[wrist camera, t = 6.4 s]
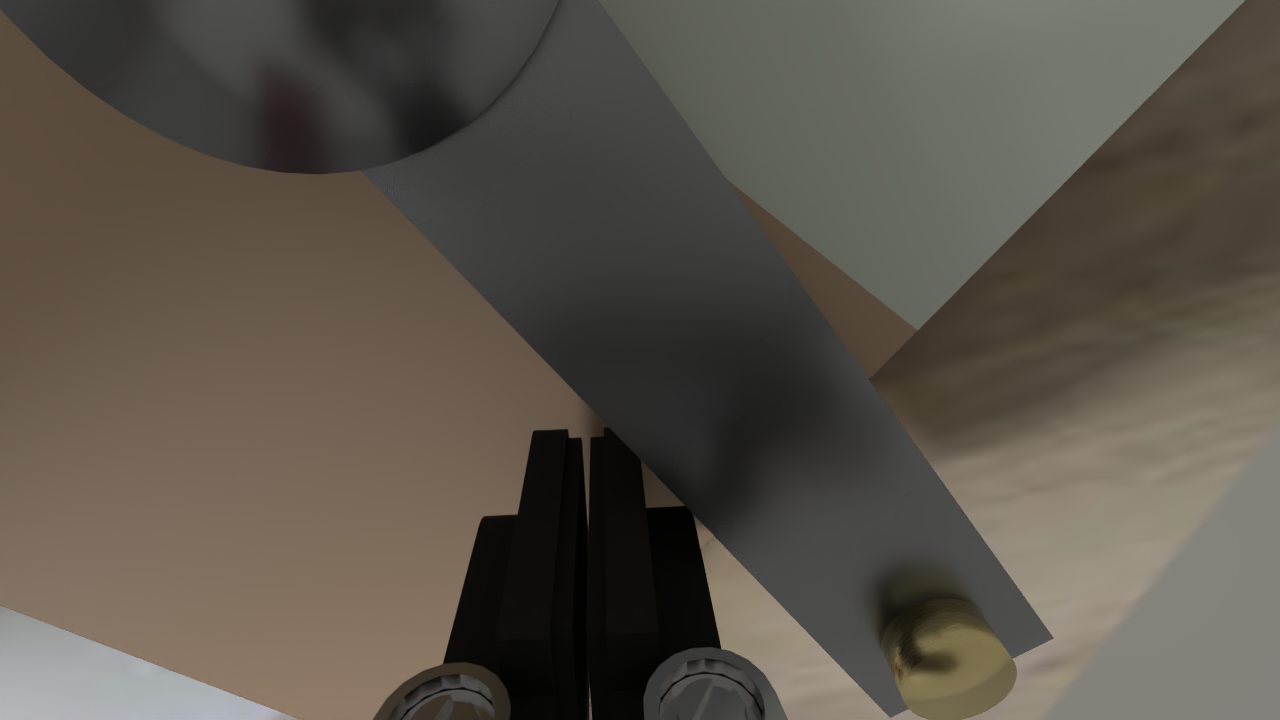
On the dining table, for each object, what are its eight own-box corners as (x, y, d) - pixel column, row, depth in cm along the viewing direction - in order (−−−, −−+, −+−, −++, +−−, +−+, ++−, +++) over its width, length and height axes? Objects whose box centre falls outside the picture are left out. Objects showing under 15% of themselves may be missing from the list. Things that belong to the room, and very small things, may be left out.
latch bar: (1014, 470, 11) (1180, 643, 8) (779, 603, 12) (836, 801, 9) (361, -550, 6) (27, -1342, 2) (62, -137, 7) (-425, -306, 4)
